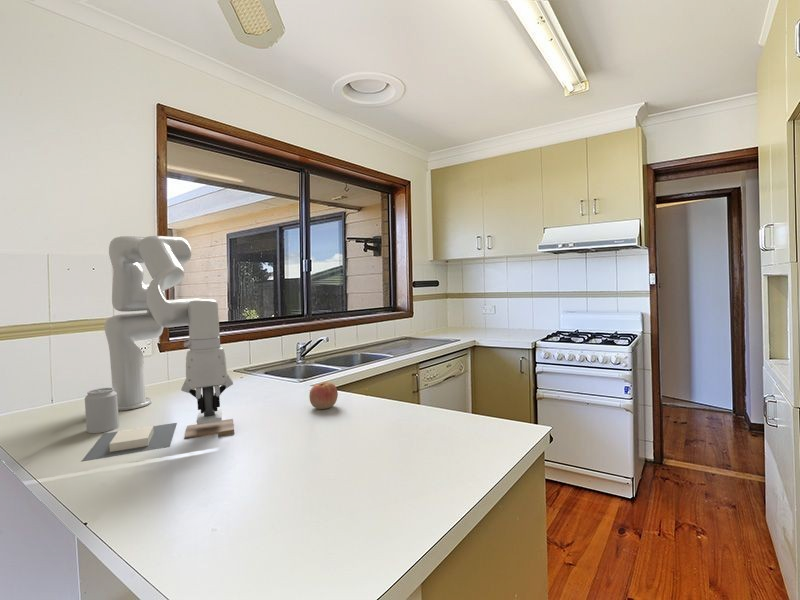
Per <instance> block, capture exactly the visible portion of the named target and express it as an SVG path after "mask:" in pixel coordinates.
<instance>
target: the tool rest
mask: <svg viewBox="0 0 800 600" xmlns="http://www.w3.org/2000/svg"><path fill="white" fill-rule="evenodd" d="M212 435H217V437H222V436H229V435H230V436H231V435H235V424H234V419H233V418H230V419H222V421H219V422H212V423H206V424H199V425H197V423H195V424H190V425H187V426H186V429H185V433H184V440H186V439H187V440H189V439H194V438H200V437H205V436H207V437H208V436H212Z"/></svg>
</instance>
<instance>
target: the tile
mask: <svg viewBox="0 0 800 600" xmlns="http://www.w3.org/2000/svg"><path fill="white" fill-rule="evenodd" d="M153 426H154V425H150V426H142V427H135V428H131V429H122V430H117V431H118V432H117V431H116V432H117V434H116V435H115V437H114V438H113V439H112V441H111V442H110V444H109V446H110V452H114V451H120V450H126V449H132V448H138V447H144V446H148V445H149V443H150V440H151V438H152V436H153V434H154V428H153Z"/></svg>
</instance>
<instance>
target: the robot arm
mask: <svg viewBox="0 0 800 600" xmlns="http://www.w3.org/2000/svg"><path fill="white" fill-rule="evenodd" d="M108 255H109V260H110V263H111V266H112V271H113V273H112V288H111V304H112V307H113V309H114V310H116V311H118V312H122V313H123V314H116V315H112V316H110V317H108V318H107V319H106V320H105V322H104V334H105V337H106V341H107V345H108V351H109V363H110V376H111V388H114V390H113V391H115V392H116V393H117V403H118V412H119V411H129V410H134V409H138V408H143V407H145V406H148V405H150V404H151V403H152V398H150V397H147V394H146V393H147V392H146V378H145V377H146V376H145V366H144V365H145V363H144V354H143V350H142V349H141V348H140V347H139V346H138V345H137V344H136V343H135V342H138V341H145V340H146V341H147V340H153V339H156V338H159V337H161V336H162V334H163V331H164V328H175V327H176V328H177V327H185V326H188V337H189V340H188V341H184V342H183V347H184V348H188V349H189V350H187V352H186V357H185V381H184V383H182V386H181V389H180V390H181V391H182V392H184V393H187V394H190V395H191V396H193V397H194V398H195V399H196V400H197V402H196V403H197V410H199V411H200V413H204V406H203V393H202V388H204V387H212V386H213V388H214V410H215V411H217V410H218V408H221V401H220V400H221V399H220V396H221V395H222V393H223V392H224V391H225V390H226V389H228V388H229V387H231V386H233V385H234V382H233V380H232V378H231V377H230V375H229V374H228V366H227V357H226V354H225V349H224V348H223V347H221V336H220V320H219V319H220V318H219V316H220V315H219V304H218V302H217V300H215V299H213V298H206V299H205V298H204V299H203V298H180V299H179V298H177V299H167V298H166V295H167V294H166V291H168V289H170V288H172V287H173V288H174V287H175V286H176V285H178V284H179V283H181V282H182V281H183V279H184V277H185V270H184V268H183V267H182V264H183V265H184V264H187V263H189V261H190V260H191V258H192V248H191V245H190V244H189V242H188V240H186V239H185V238H183V237H179V236H165V235H148V236H146V237H145V236H132V235H124V236H117V237H114V238H113V239H112V240H111V241H110V242H109V246H108ZM141 264H144V265H145V267H146V269H147V271H148V274H150V277H151V279H152V280H151V282H144V276H145V275H144V270H143V268H142V266H141ZM141 311H142V312H141ZM143 311H146V312H143ZM124 312H132V313H124ZM134 312H135V313H134ZM136 312H138V313H136Z"/></svg>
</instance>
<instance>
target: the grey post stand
mask: <svg viewBox="0 0 800 600" xmlns="http://www.w3.org/2000/svg"><path fill="white" fill-rule="evenodd" d="M201 393H202V397H203V406H204V413H201V412H198V413H197V417H196V424H197V425H199V424H206V423H212V422H219V421H222V420H223V419H222V415H223V414H222V409H217V411H215V410H214V393H215V388H214V386H212V387H204V388H201Z"/></svg>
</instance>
